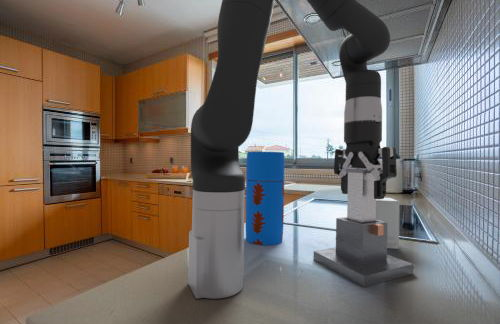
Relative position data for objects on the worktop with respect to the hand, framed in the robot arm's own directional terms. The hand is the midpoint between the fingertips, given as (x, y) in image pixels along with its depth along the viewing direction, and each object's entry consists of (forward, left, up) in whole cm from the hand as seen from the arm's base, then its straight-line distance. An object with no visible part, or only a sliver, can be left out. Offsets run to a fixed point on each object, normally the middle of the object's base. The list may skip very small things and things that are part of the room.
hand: (361, 196), depth 56 cm
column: (0, 0, -13) cm, 13 cm away
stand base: (0, 0, -15) cm, 15 cm away
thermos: (-10, +25, -15) cm, 31 cm away
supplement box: (+18, +9, -15) cm, 25 cm away
